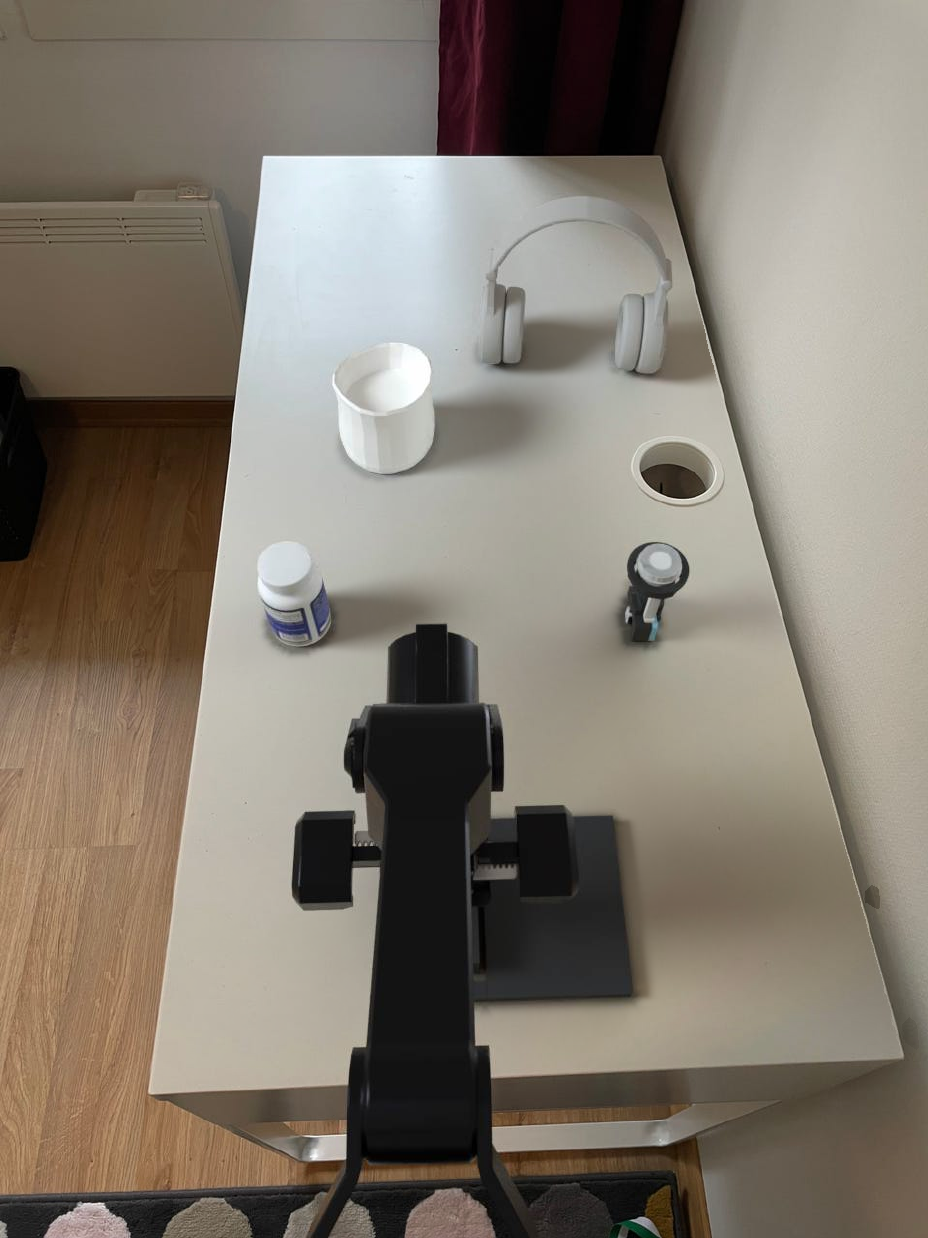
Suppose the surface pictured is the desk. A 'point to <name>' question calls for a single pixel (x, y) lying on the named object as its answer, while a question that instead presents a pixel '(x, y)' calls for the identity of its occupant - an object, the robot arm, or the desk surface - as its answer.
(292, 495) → the desk surface
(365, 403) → the cup
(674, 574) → the push button
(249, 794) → the desk surface
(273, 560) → the pill bottle
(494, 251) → the headphones
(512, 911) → the base pad
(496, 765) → the robot arm
